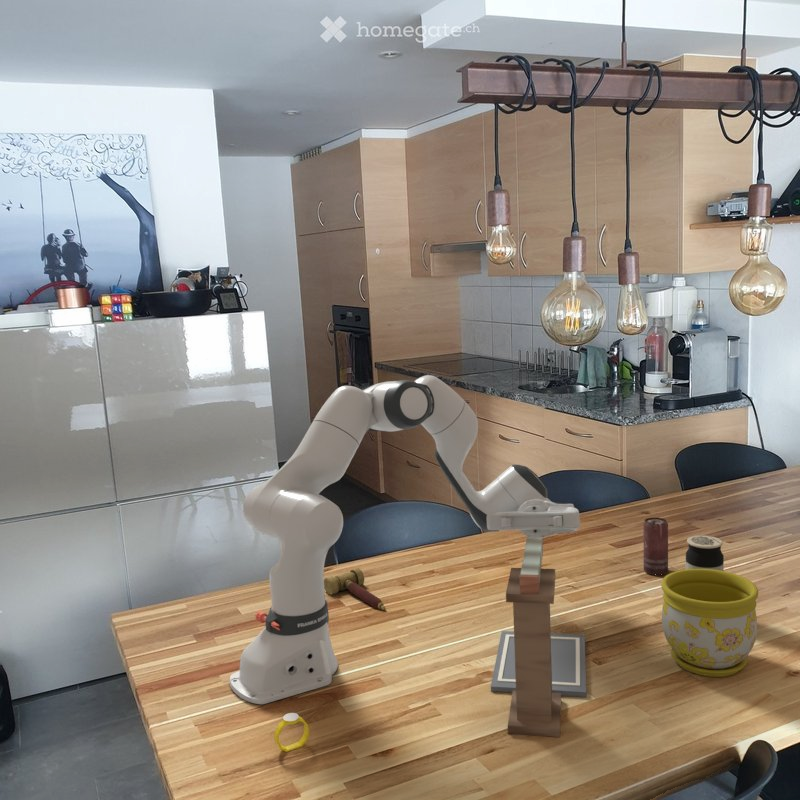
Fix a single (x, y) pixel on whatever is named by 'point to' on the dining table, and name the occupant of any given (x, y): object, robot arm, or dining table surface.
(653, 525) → the can
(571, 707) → the dining table surface
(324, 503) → the robot arm
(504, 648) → the mat
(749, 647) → the flowerpot
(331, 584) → the gavel
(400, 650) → the dining table surface
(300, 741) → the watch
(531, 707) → the stand
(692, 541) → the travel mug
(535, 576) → the grey green bar
